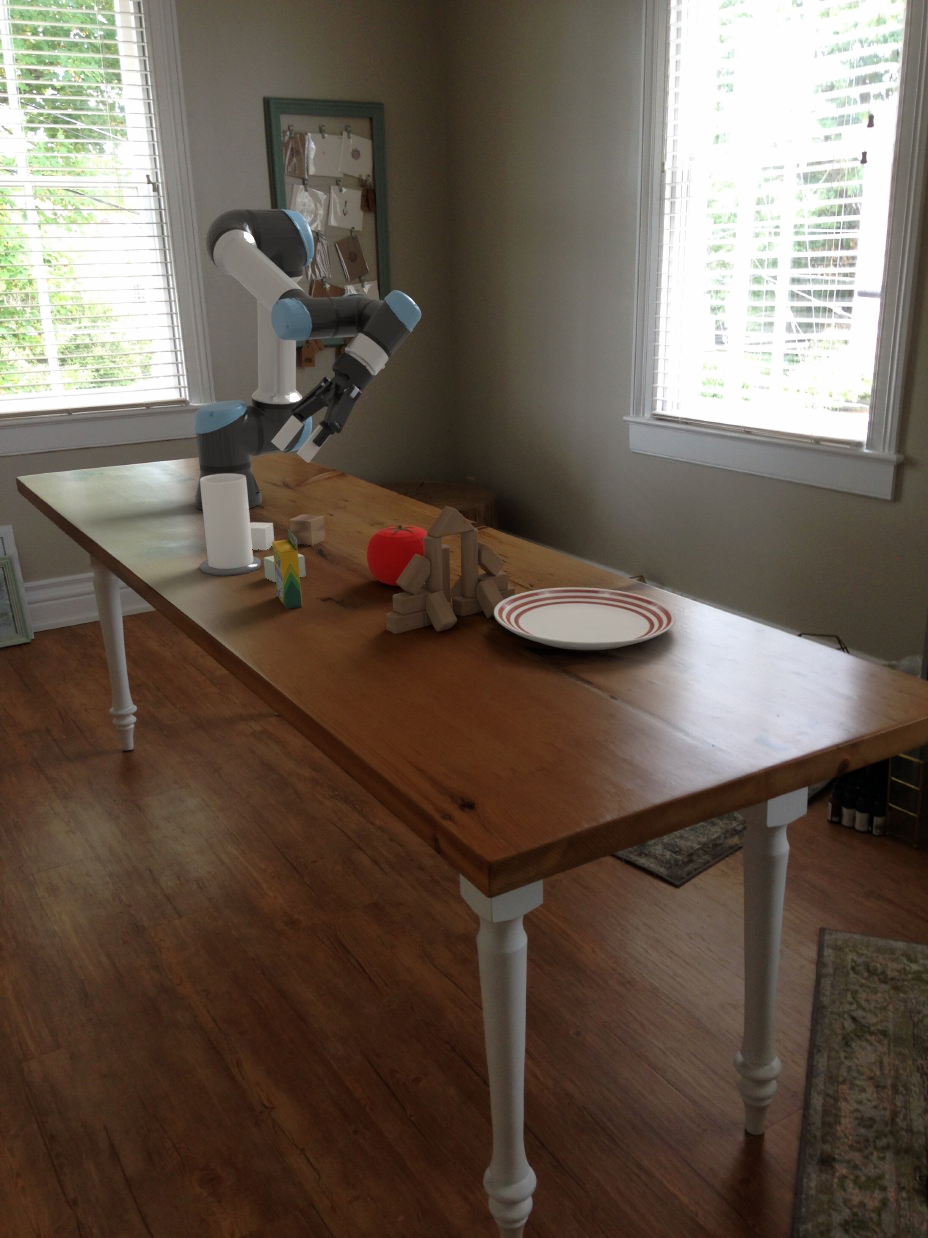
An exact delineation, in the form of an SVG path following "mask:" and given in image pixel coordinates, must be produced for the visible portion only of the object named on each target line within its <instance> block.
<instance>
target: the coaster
mask: <svg viewBox="0 0 928 1238" xmlns="http://www.w3.org/2000/svg"><path fill="white" fill-rule="evenodd" d="M199 566H200V571H201V572H202V573H204V574H206V575H209V576H211V575H212V576H220V577H221V576H224V577H225V576H237V574H238V575H245V574H248V573H247V572H249V573H251V571H252V572H254V571H256V569H257V570H258V569H260V566H261V567H262V560H261V559H260V558H259V557H257V556H255V555H253V563H251V564H250V565H247V566H244V567H240V568H233V569H218V568H213V567H210V566H209V565H208V559H205V560H203V561H202V562H201V563H200V565H199Z"/></svg>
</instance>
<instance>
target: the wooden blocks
mask: <svg viewBox="0 0 928 1238" xmlns="http://www.w3.org/2000/svg"><path fill="white" fill-rule="evenodd" d="M426 532H427V536H424V538H423V541H424V557H423V556H420V555H417V554H415V555H414V556H413V558H412V559H411V561H410V562H409V564H408V565H407V567H406V568H405V569H404V571H403V572H402V574H401V575H400V577H399V578H398V579H397V581H396V583H397V584H398V585H399V586H398V587H400V588H401V589H402V590H404V591H403V592H399V593H396V594H395V593H394V594H392V611H391V612H388V613H385V628H386V629H385V630H387V631H388V632H390V633H393V634H394V635H398V634H401V633H404V632H409V631H412V630H416V629H420V628H421V629H422V628H424V627H429V626H433V628H434V630H435V631H436V632H442V631H446V630H450V629H453V626H454V625H455V624H456V623H457V622H458V619H457V617H456V615H457V616H459V617H466V616H471V615H473V614H474V615H475V614H477V613H482V612H483V613H484V616H485V617H486V618H487V619H491V618H495V616H494V609H495V607H496V606H497V605H498V604H499V603H500V602H501V601H503V600H505V599H507V598H509V597H511V596H514V595H516V589H515V588H514V587H513V586H509V574H508V572H504V571H502V568H503V567H504V565H505V561H504V560H503V559H502V558H501V557H500V556H499V555H497V554H496V553H495V551H494V550H493V549H491V548H490V547H491V546H489V545H488V544H486V543H484V542H481V541H479V531H478V529H477V528H476V527H474V526H473V525H472V524H471V523H470V522H469V521H468V520H467V519H466V518H465V516H463V514H461V513H460V512H459V511H458V510H457V509H456V508H454V507H450V506H447V505H445V506H444V507H443V508H442V511H440V514H438V516H437V518H436V519H435V520H434V522H433V523H432V525H431V526H430V527H429V529H428V530H427V531H426ZM456 534H460V573H461V574H460V576H459V577H458V579H457V580H456V581H455V582H454V584H453V585H452V586H451V550H450V549H451V548H450V546H449V545H448V544H442V537H446V536H451V535H456ZM479 568H481V569H482V571H484V572H483V573H481V574H479Z"/></svg>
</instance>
